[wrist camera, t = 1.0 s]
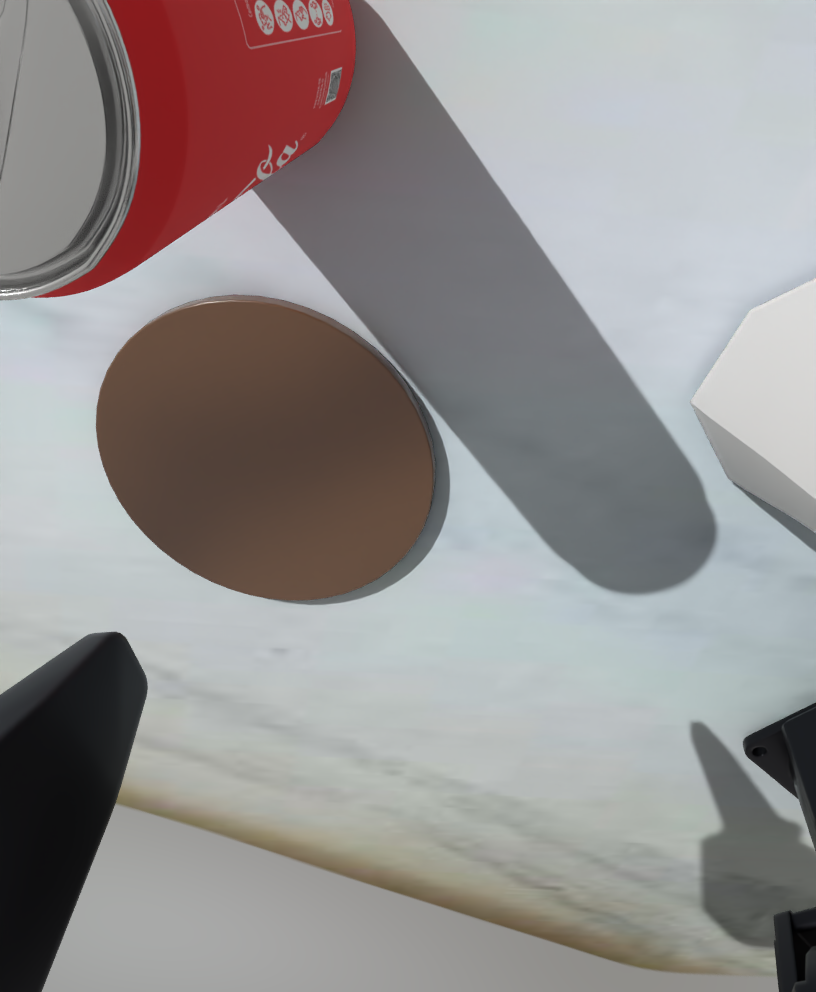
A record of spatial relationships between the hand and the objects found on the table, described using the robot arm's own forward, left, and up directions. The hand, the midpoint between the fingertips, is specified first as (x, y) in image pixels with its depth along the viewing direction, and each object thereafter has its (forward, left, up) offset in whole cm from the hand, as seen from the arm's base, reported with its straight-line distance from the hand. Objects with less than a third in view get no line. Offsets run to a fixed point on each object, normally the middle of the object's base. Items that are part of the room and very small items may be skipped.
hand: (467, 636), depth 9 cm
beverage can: (+8, 0, -14) cm, 16 cm away
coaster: (+1, +9, -14) cm, 17 cm away
